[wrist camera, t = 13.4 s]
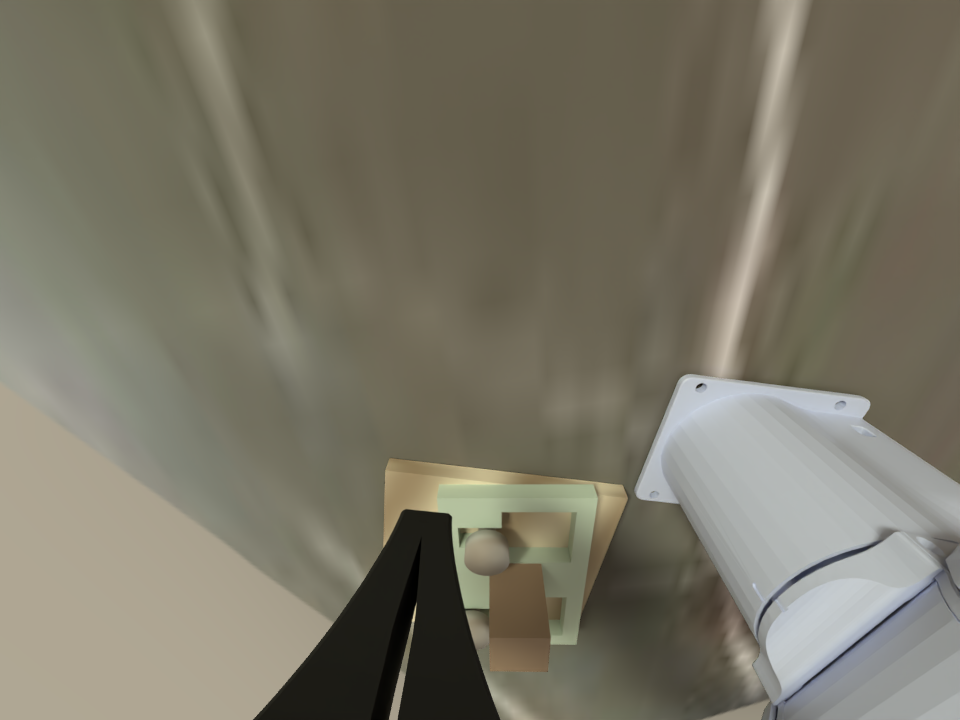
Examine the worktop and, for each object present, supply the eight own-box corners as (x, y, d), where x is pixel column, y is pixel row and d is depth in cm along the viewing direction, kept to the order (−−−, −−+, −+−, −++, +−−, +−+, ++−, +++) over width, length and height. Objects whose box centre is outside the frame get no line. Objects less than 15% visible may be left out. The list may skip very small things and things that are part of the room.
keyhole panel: (593, 484, 21) (621, 569, 17) (573, 628, 27) (590, 720, 22) (439, 484, 21) (425, 568, 17) (452, 627, 27) (444, 717, 23)
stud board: (622, 485, 22) (642, 533, 19) (569, 622, 28) (578, 675, 25) (389, 458, 22) (373, 503, 19) (385, 603, 28) (372, 655, 25)
